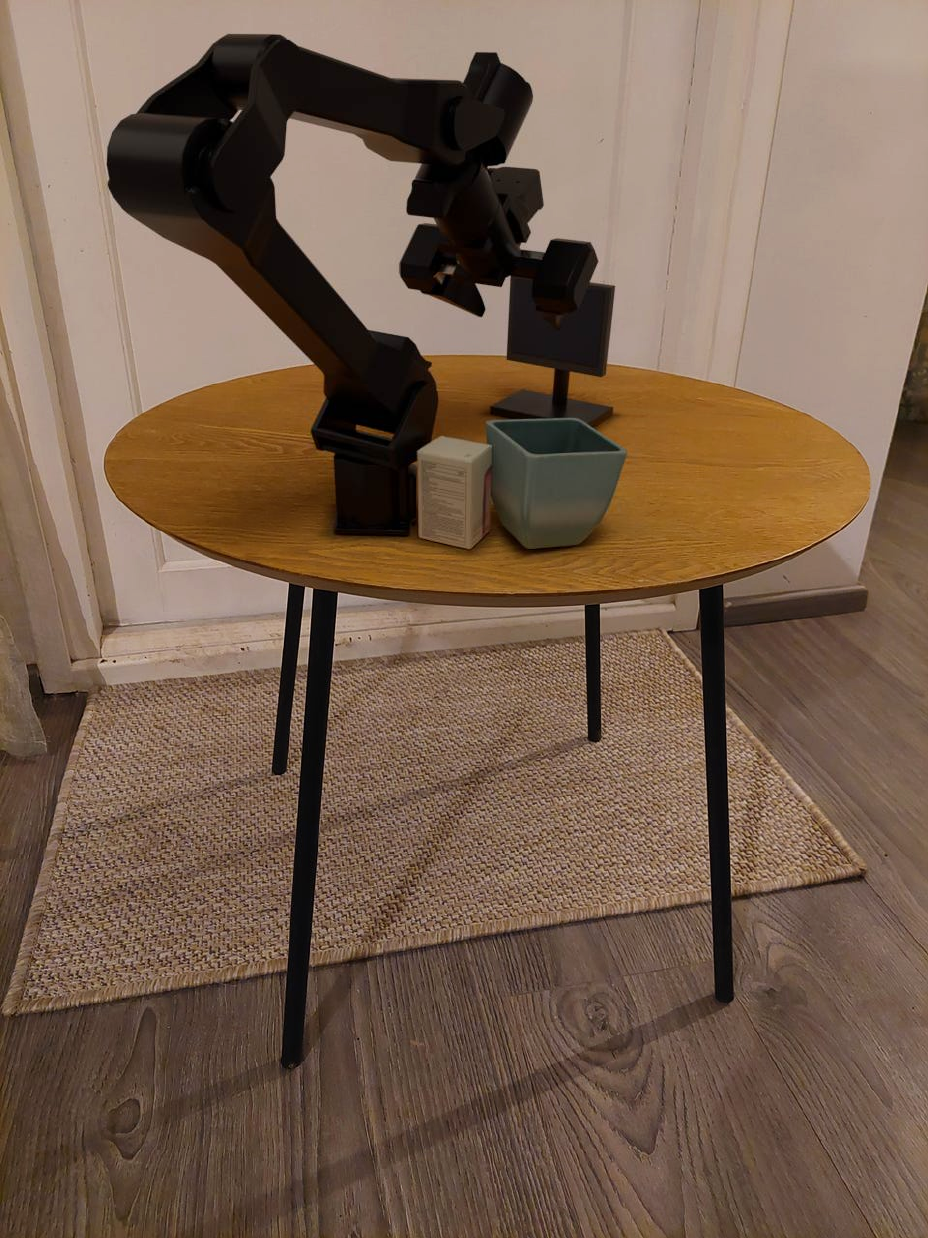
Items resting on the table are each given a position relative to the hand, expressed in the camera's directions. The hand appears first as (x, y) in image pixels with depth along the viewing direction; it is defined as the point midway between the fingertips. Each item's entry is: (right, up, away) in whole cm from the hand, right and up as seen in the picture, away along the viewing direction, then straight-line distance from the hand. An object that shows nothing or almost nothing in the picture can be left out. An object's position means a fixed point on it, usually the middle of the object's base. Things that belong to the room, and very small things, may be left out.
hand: (520, 319), depth 92 cm
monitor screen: (+5, -2, +11) cm, 12 cm away
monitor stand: (+4, -7, +13) cm, 16 cm away
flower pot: (+1, -24, -15) cm, 28 cm away
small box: (-7, -23, -15) cm, 28 cm away
